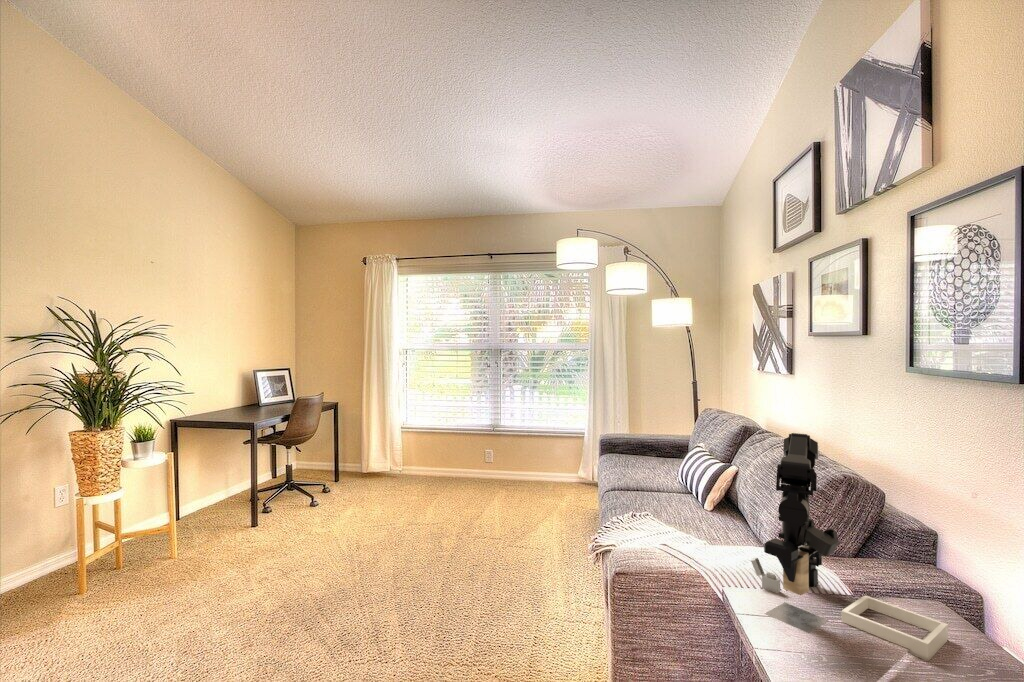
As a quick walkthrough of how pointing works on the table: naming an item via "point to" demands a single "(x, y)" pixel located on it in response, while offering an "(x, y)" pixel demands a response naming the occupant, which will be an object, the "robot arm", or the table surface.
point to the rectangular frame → (917, 646)
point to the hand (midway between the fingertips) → (795, 579)
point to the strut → (799, 576)
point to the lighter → (766, 577)
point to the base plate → (796, 617)
